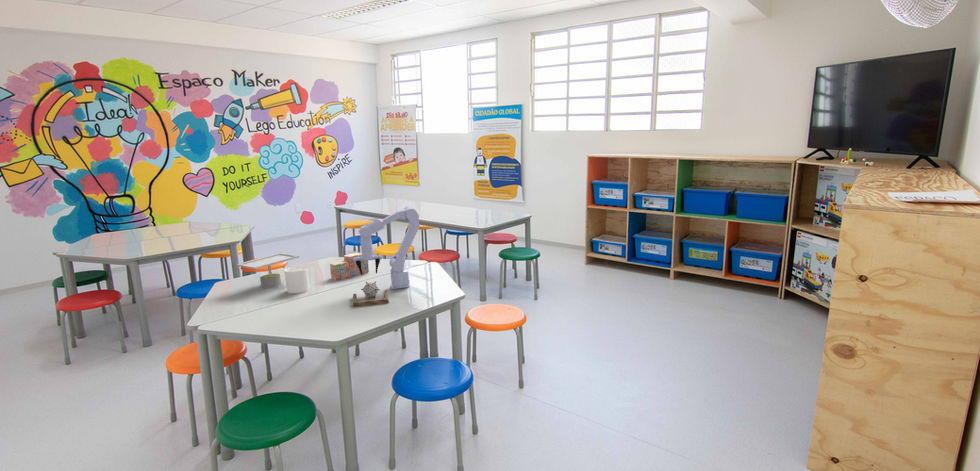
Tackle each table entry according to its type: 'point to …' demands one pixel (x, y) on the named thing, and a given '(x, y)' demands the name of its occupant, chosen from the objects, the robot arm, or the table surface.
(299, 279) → the cup
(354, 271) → the stack of blocks
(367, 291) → the game die
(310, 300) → the table surface
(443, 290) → the table surface
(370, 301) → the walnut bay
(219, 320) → the table surface
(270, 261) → the solar panel model
